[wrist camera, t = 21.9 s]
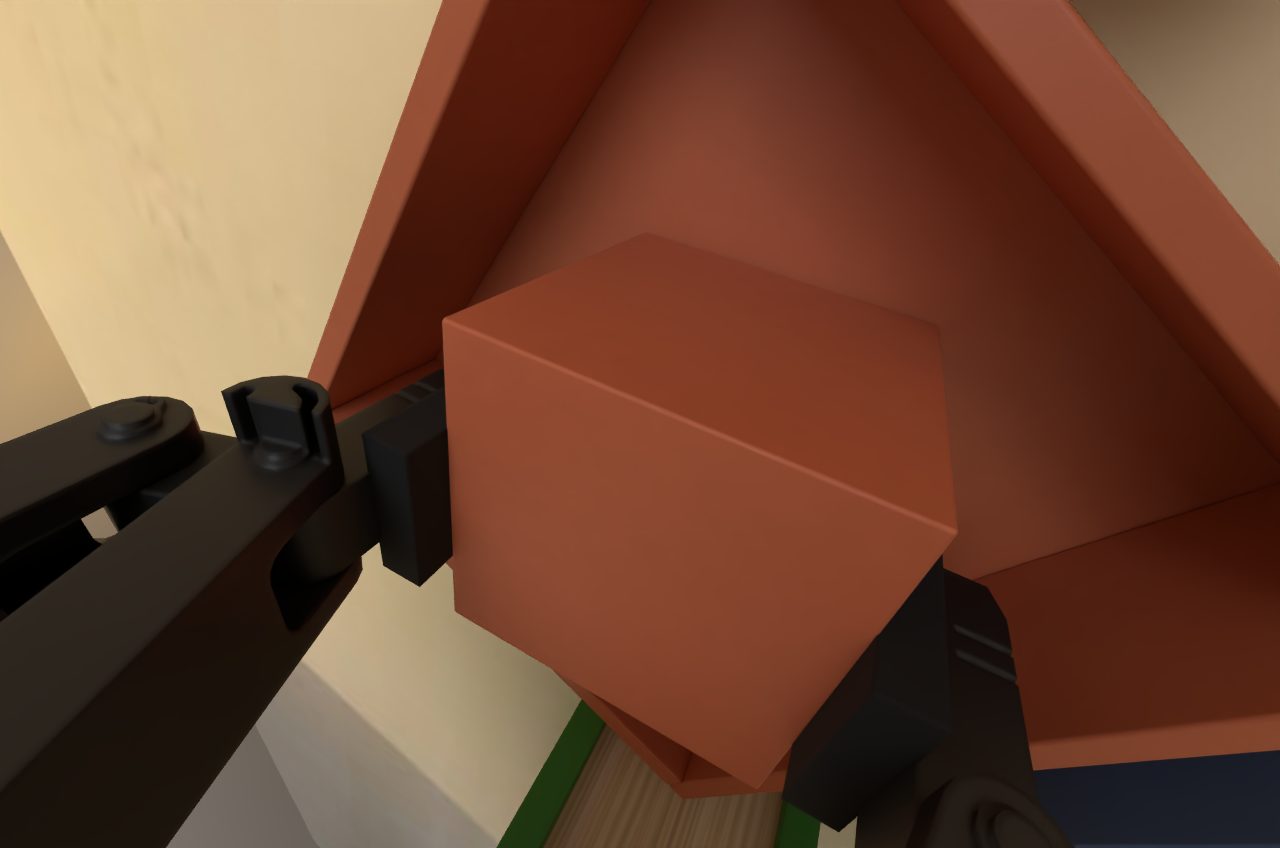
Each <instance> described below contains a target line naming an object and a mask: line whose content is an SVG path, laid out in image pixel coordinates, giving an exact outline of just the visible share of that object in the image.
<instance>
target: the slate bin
mask: <svg viewBox="0 0 1280 848" xmlns="http://www.w3.org/2000/svg"><path fill="white" fill-rule="evenodd" d="M1033 772H1034V778H1035V784H1036V789H1037V795H1038V798H1039V802H1040V805H1041V807H1042V808H1043V809H1044V810H1045V811H1046V812H1047V813H1048V814H1049V815H1050V816H1052V817H1053V818H1054V819H1055V821H1056V822H1057V824H1058V825H1059V826H1060V828H1061V829H1062V831H1063V832H1064V833H1065V835H1066V836H1067V838H1068V839H1069V840H1070V842H1071V843H1072V845H1073V846H1074V847H1075V848H1280V750H1274V751H1262V752H1250V753H1237V754H1225V755H1213V756H1201V757H1189V758H1177V759H1165V760H1153V761H1141V762H1129V763H1117V764H1104V765H1092V766H1080V767H1068V768H1056V769H1044V770H1033Z"/></svg>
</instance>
